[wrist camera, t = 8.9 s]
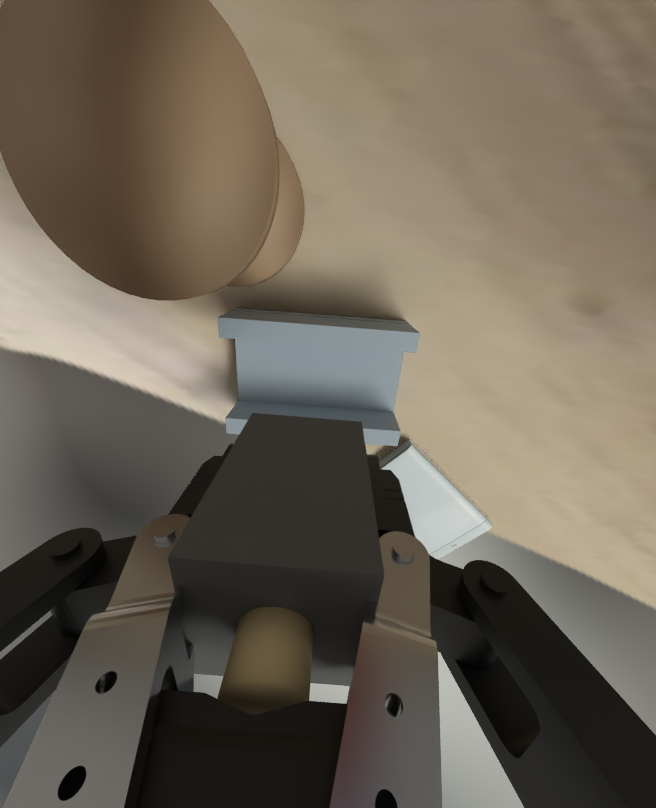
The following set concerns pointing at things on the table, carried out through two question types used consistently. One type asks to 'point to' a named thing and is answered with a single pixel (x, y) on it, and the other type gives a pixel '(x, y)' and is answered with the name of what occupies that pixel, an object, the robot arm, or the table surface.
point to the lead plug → (281, 561)
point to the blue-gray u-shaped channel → (318, 368)
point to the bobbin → (145, 144)
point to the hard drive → (434, 502)
